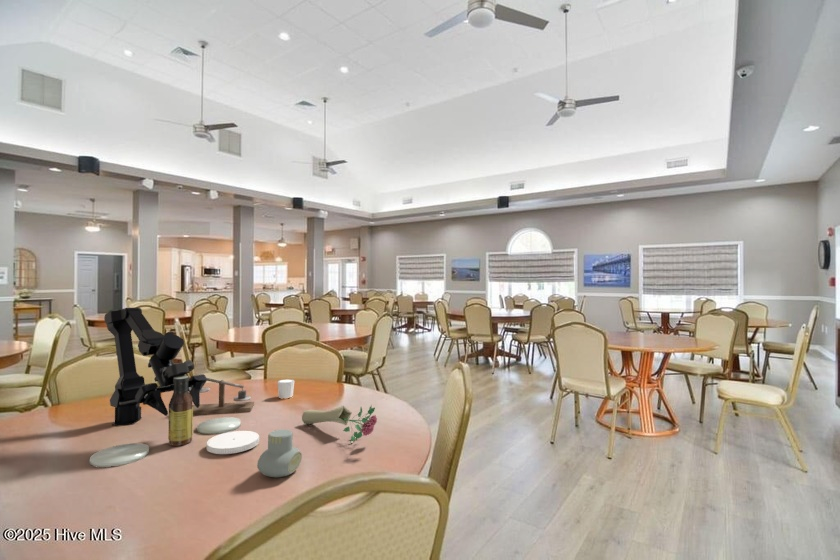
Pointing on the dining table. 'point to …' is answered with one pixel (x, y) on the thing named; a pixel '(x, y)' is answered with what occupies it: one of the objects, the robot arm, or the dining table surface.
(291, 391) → the white short cylinder
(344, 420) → the flower vase
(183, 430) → the sauce bottle
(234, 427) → the dish right
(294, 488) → the dining table surface
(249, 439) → the plastic lid
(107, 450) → the dish left
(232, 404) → the balance scale
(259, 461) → the air freshener
